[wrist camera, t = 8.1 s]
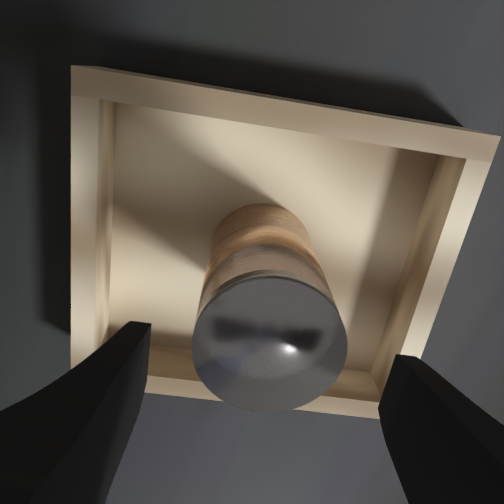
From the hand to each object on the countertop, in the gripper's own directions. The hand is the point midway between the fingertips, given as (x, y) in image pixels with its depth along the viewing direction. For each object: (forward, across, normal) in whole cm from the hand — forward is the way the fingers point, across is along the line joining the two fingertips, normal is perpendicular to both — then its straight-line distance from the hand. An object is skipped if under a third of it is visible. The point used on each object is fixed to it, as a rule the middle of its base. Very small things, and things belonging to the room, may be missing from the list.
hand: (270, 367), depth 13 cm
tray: (+9, 0, 0) cm, 9 cm away
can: (+9, 0, 0) cm, 9 cm away
